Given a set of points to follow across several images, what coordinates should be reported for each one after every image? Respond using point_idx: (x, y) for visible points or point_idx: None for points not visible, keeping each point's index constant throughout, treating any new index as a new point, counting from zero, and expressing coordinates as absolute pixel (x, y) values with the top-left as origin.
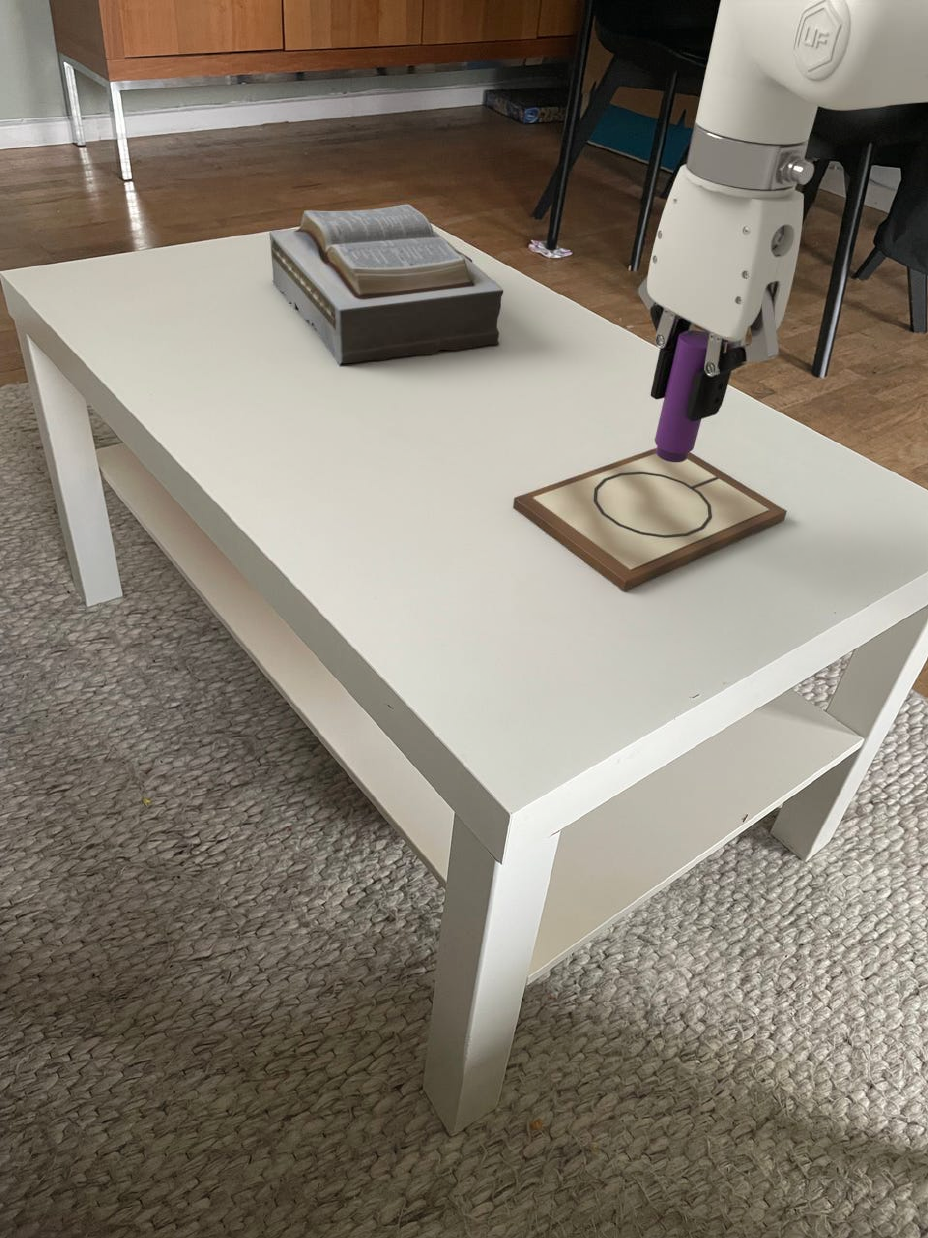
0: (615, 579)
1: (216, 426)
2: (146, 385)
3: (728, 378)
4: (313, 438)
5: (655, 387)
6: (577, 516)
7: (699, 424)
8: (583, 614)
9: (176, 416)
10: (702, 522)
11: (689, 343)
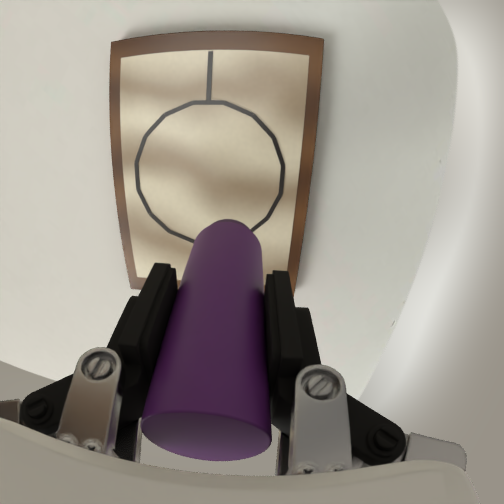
0: None
1: (15, 349)
2: None
3: (319, 362)
4: (24, 324)
5: None
6: (185, 266)
7: (261, 270)
8: None
9: (8, 355)
10: (275, 155)
11: (215, 459)
